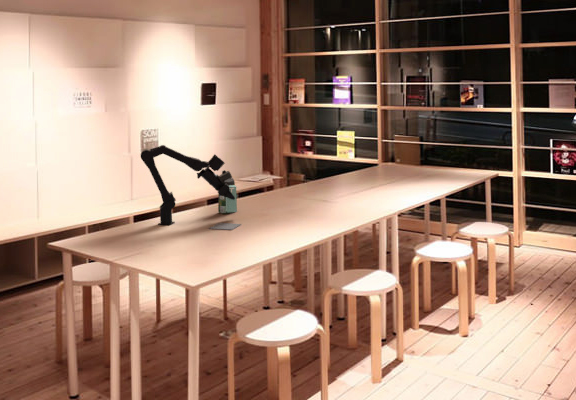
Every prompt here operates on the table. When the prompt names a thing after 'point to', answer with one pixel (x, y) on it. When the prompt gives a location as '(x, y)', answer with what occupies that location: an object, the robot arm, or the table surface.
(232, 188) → the teal tall block
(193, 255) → the table surface
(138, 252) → the table surface
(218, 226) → the mat
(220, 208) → the coffee jar
